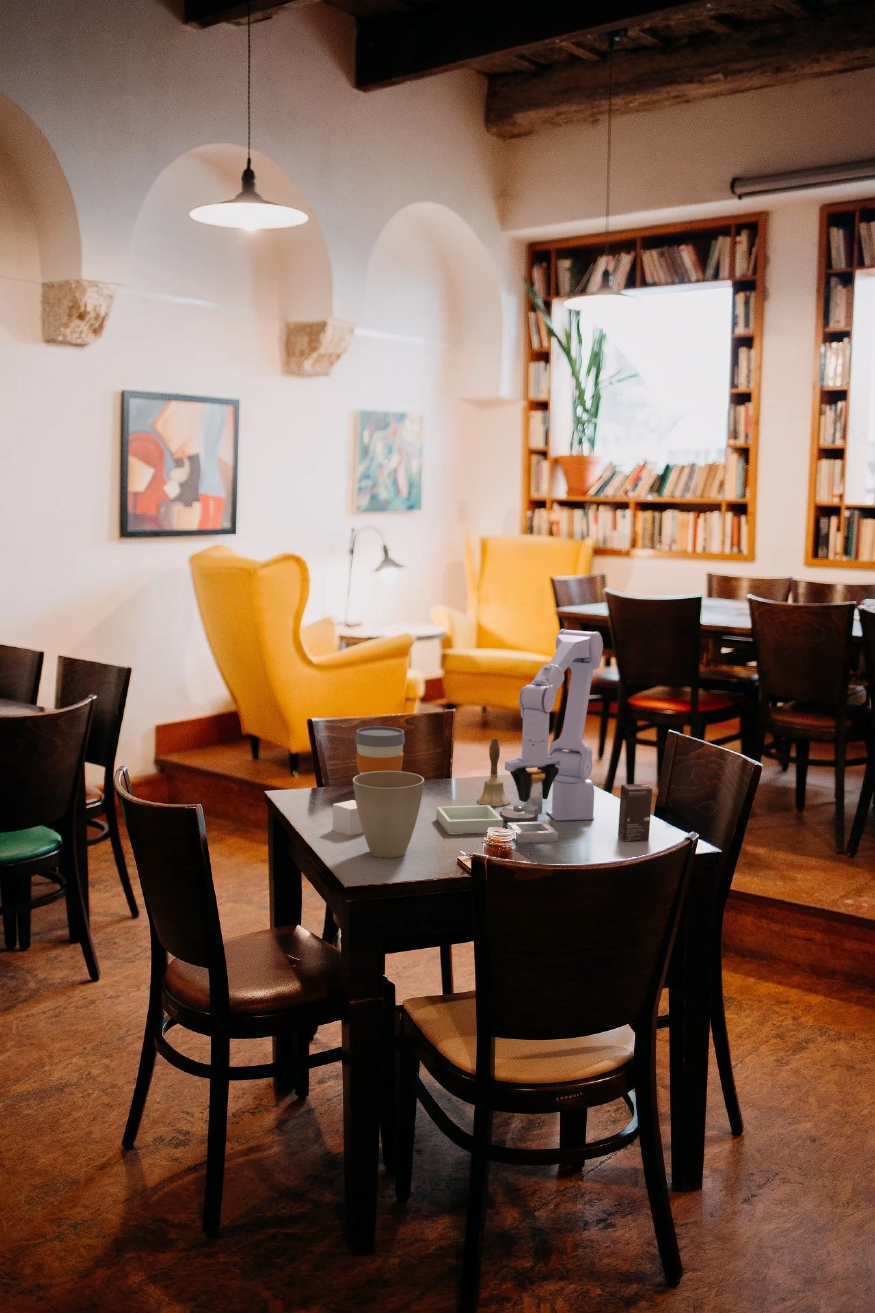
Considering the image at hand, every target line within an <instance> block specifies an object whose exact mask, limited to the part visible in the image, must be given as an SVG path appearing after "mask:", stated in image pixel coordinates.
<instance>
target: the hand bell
mask: <svg viewBox="0 0 875 1313" xmlns="http://www.w3.org/2000/svg"><path fill="white" fill-rule="evenodd" d="M500 747H501V746H500V744H499V741H498V738H497V737H493V738H491V742H490V745H489V748H488V749H489V752H488V754H489V756H488V757H489V759H490V761H489V762H490V777H489V778H488V779H486V780H485V781H484V785H483V789H482V790H483V791H482V793H481V794H480V796H479V797H478V798H477V800H476V803H477V804H478V803H480V804H482V805H491V807H503V806H502V805H505V806H509V805H510V804H511V800H510V799H509V797H508V796H507V795H506V792H505V789H504V782H503V780H502V779H500V778H498V774H499V773H498V762H499V759H500V754H501V750H500ZM480 804H479V805H480ZM497 805H498V806H497ZM500 805H501V806H500Z"/></svg>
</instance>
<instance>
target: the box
mask: <svg viewBox="0 0 875 1313" xmlns="http://www.w3.org/2000/svg"><path fill="white" fill-rule="evenodd" d="M619 797H620V798H619V799H620V800H619V813H618V829H617V830H618V831H617V837H618V838H619V839H620V840H621V841H623V842H634V840H640V841H649V839H650V825H651V814H652V813H651V812H652V800H653V799H652V798H653V788H652V787H650V786H649V785H648V784H646V783H641V784H638V783H637V784H636V783H635V784H634V783H631V784H620V796H619Z"/></svg>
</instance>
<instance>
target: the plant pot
mask: <svg viewBox="0 0 875 1313" xmlns="http://www.w3.org/2000/svg"><path fill="white" fill-rule="evenodd" d="M352 784H353V785H352V786H353V792H354V798H355V801H356V805H357V810H358V814H359V818H360V822H361V826H362V829H363V835H364V836H363V837H364V838H365V841H366V844H367V847H368V850H369V852H370V854H371V855H373V856H374V857H377V858H382V857H385V858H384V859H389V858H390V859H391V858H397V857H402V856H404V855H405V854H406V852H407V851H408V847H409V845H410V842H411V839H412V836H413V834H414V829H415V827H416V823H417V819H418V816H419V812H420V808H421V804H422V797H423V790H424V785H425V778H424V777H423V776H421V775H420V774H417V773H413V772H407V771H402V770H401V771H376V772H368V773H363V774H360V773H359V774H358V775H355V776H354V777H353V778H352Z"/></svg>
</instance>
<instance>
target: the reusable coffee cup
mask: <svg viewBox="0 0 875 1313" xmlns="http://www.w3.org/2000/svg"><path fill="white" fill-rule="evenodd" d="M405 740H406V739H405V730H403V729H401V728H398V727H393V726H366V727H361V728H358V729H356V733H355V740H354V741H355V743H356V750H357V751H356V752H355V755H356V756H355V757H356V763H357V764H356V765H357V770H358V771H359V775H360V774H363V773H368V772H376V771H401V772H402V767H403V761H404V756H405V755H404V752H403V750H404V744H405V743H406V741H405Z"/></svg>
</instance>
